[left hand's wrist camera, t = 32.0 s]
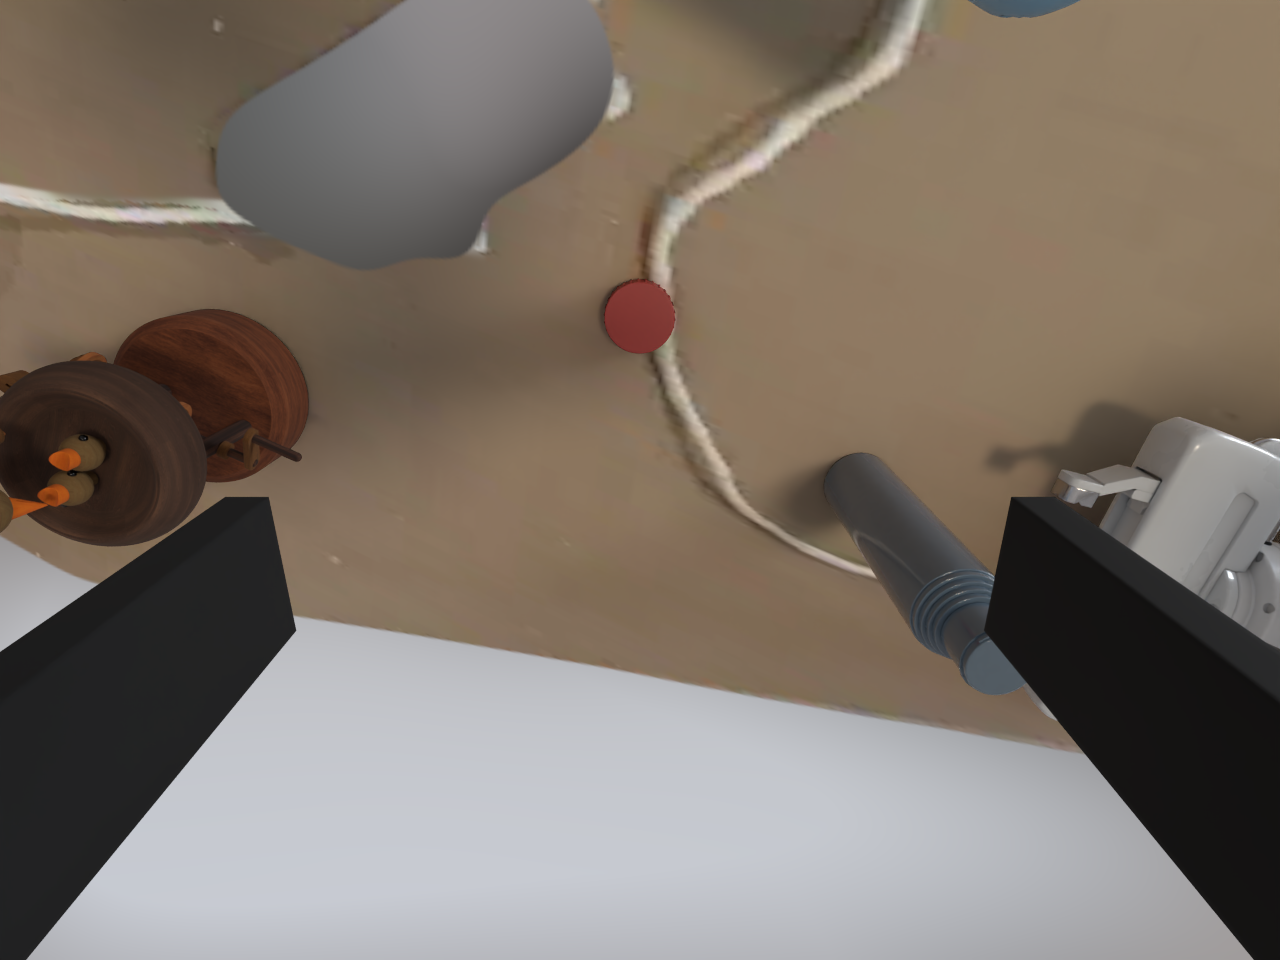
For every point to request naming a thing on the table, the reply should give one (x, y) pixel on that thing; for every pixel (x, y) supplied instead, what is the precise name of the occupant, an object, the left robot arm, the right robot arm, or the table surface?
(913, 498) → the bottle
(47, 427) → the music box
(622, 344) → the cap
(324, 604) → the table surface
